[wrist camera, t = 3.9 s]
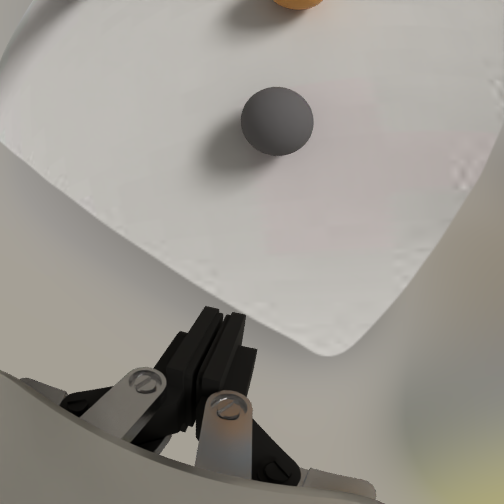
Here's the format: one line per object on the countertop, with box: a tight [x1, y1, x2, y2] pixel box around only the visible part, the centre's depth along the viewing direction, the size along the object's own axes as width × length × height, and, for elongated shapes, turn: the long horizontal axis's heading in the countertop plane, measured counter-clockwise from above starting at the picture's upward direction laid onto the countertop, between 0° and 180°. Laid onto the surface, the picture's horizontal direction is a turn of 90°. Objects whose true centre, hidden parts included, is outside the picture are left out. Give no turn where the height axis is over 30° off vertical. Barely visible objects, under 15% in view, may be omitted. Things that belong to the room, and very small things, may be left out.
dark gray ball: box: [241, 87, 313, 156], centre depth 20 cm, size 6×6×6 cm
